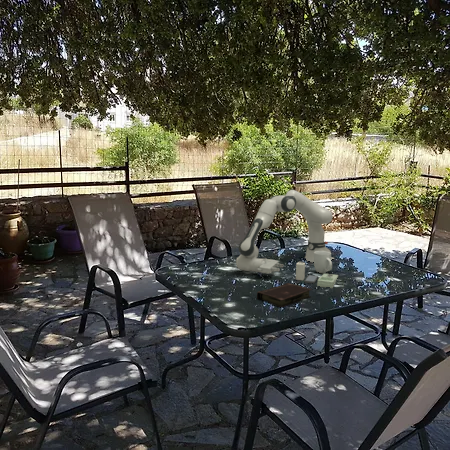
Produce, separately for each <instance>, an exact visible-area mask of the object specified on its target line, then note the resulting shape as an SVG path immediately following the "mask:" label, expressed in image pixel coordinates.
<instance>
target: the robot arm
mask: <svg viewBox="0 0 450 450" xmlns="http://www.w3.org/2000/svg"><path fill="white" fill-rule="evenodd" d="M260 205H261V206H260V207H259V209H258V212H257V214H256V216H255V218H254V220H253V222H252V224H251V226H250V227H249V230H248V231H247V234H246V236H245V237H244V238H243V239H242V240H241V241H240V243H239V244H238V246H237V247H238V251H239V254H240V255H239V256H238V257H236V260H235V264H236V267H237V269H238V270H240V271H245V272H255V273H263V274H271V273H272V272H273V273H274V272H280V270H281V268H284V264H281V263H279V261H278V260H276V259H272V258H271V259H267V258H266V257H262V258H259V257H258V256H259V251H260V250H259V248H258V246H256V244H255V241H256V239H257V237H258V235H259V232H260V231H261V230H263V229H267V228H269V227H270V225H272V223H273V221H274V218H275V215H276V213H277V212H280V213H284V212H285V213H286V212H287V213H288V212H292V211H293V210H296V211H297V212H299V213H301V214H302V216H303V218H304V219H305V220H306V221H305V222H306V225H307V228H308V240H307V247H306V253H305V256H304V259H305V258H306V260H307V261H306V260H305V261H306V262H308V261H310V262H309V263H313V262H314V252H315V251H327V252H330V253H331V254H332V252H331V250H330V249H329V248H328V247H326V245H328V241H325V235H326V234H325V229H324V228H323V225H327V224H330V223H331V222H332V220H333V213H332V211H331V210H329V209H328V208H325V207H323V206H322V205H320V204H318V203H316V202H315V201H313V200H311V199H310V198H309V197H307V196H306V195H304V194H303V193H301V192H299V191H297V190H296V189H295V190H294V189H290V190H287V192H286V194H285V195H283V194H282V195H273V196H271V197H270V198H269V199H265V200H264V201H263V202H262V203H261V204H260ZM332 259H334V260H335V257H334V256H333V257H332V256H331V260H332ZM332 261H333V260H332Z"/></svg>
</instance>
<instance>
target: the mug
mask: <svg viewBox="0 0 450 450" xmlns="http://www.w3.org/2000/svg"><path fill="white" fill-rule="evenodd" d="M331 257H332V252H331V253H330V252H327V251H315V252H314V263H313V265H314V270H315V271H316V273H318V272H319V274H327V273H328V272H330V271H332V269H333V262H332V261H331ZM326 272H327V273H326Z"/></svg>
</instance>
